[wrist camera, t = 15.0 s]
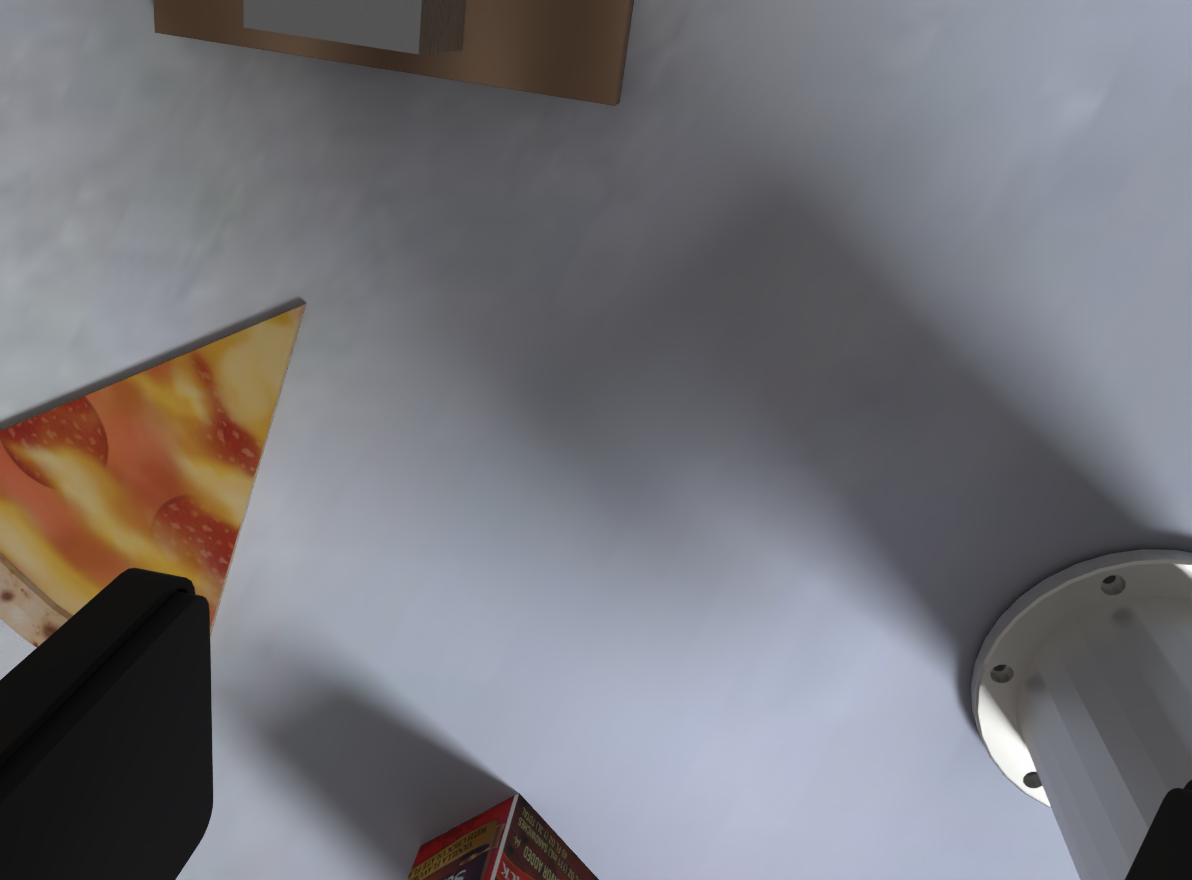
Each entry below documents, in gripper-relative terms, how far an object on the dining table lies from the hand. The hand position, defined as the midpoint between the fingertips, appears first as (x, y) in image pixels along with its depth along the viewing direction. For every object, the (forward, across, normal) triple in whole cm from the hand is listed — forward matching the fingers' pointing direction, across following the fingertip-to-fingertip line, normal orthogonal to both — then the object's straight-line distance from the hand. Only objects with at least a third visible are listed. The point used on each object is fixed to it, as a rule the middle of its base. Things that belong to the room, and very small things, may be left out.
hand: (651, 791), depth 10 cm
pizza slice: (+29, +21, +18) cm, 40 cm away
